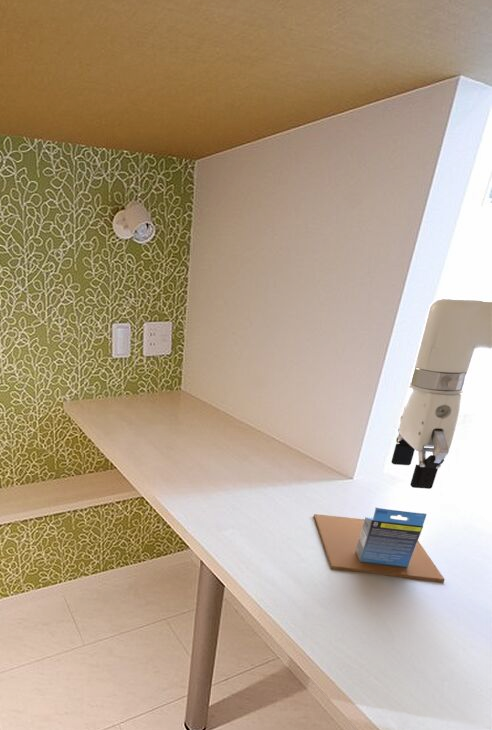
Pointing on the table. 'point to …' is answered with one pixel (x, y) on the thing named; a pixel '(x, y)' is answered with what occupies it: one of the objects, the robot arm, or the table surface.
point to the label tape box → (389, 537)
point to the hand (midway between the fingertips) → (410, 475)
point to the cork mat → (342, 553)
